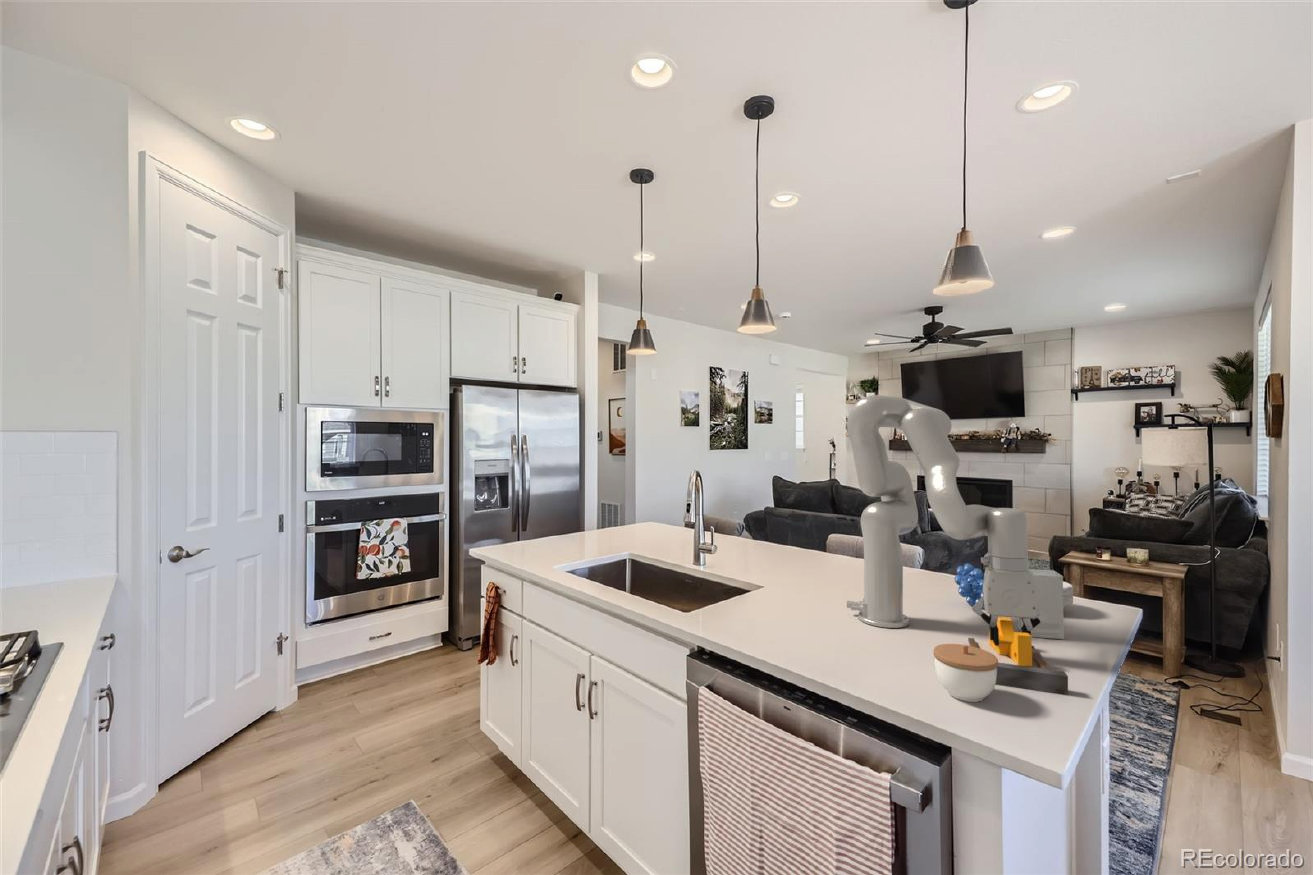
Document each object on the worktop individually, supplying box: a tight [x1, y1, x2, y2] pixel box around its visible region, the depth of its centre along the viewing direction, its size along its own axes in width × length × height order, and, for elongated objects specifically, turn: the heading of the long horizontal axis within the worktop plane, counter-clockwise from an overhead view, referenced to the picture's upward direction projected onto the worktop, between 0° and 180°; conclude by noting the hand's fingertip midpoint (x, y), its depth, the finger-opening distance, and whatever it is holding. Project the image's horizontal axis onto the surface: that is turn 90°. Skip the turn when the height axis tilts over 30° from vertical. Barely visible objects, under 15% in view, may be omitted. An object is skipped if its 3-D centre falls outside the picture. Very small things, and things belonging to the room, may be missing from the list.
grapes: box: [954, 563, 985, 609], centre depth 159 cm, size 12×7×12 cm, turn 19°
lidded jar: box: [933, 643, 999, 703], centre depth 105 cm, size 11×11×9 cm
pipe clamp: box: [988, 616, 1033, 667], centre depth 124 cm, size 12×4×6 cm, turn 167°
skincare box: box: [1018, 568, 1065, 640], centre depth 136 cm, size 8×7×16 cm
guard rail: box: [967, 637, 1069, 696], centre depth 118 cm, size 14×24×4 cm, turn 157°
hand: (1010, 644), depth 123 cm, fingers closed on pipe clamp, 4 cm apart
